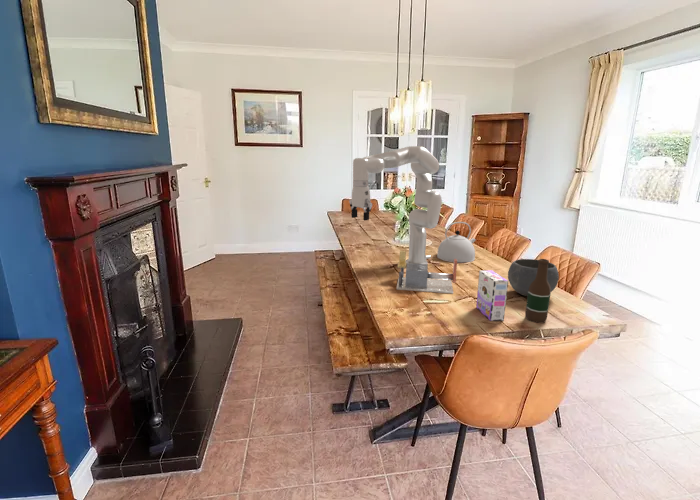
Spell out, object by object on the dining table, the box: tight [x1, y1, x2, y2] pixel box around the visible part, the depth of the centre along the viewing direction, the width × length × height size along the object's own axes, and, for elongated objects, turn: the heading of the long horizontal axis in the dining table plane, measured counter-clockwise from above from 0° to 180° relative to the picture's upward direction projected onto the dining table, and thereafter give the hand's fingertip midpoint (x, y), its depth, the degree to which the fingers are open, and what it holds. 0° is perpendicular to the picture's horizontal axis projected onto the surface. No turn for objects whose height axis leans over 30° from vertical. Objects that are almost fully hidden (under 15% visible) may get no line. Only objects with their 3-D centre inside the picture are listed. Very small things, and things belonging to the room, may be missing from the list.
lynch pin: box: [427, 259, 458, 284], centre depth 179 cm, size 16×5×11 cm, turn 79°
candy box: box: [476, 269, 509, 322], centre depth 149 cm, size 14×6×16 cm, turn 5°
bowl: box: [507, 258, 560, 297], centre depth 170 cm, size 20×20×15 cm
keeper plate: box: [397, 250, 407, 269], centre depth 187 cm, size 4×7×7 cm, turn 169°
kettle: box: [436, 221, 477, 264], centre depth 231 cm, size 25×23×22 cm
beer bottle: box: [524, 258, 552, 324], centre depth 143 cm, size 8×8×24 cm
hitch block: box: [396, 263, 454, 294], centre depth 182 cm, size 26×18×9 cm
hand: (360, 218), depth 187 cm, fingers open, 9 cm apart
